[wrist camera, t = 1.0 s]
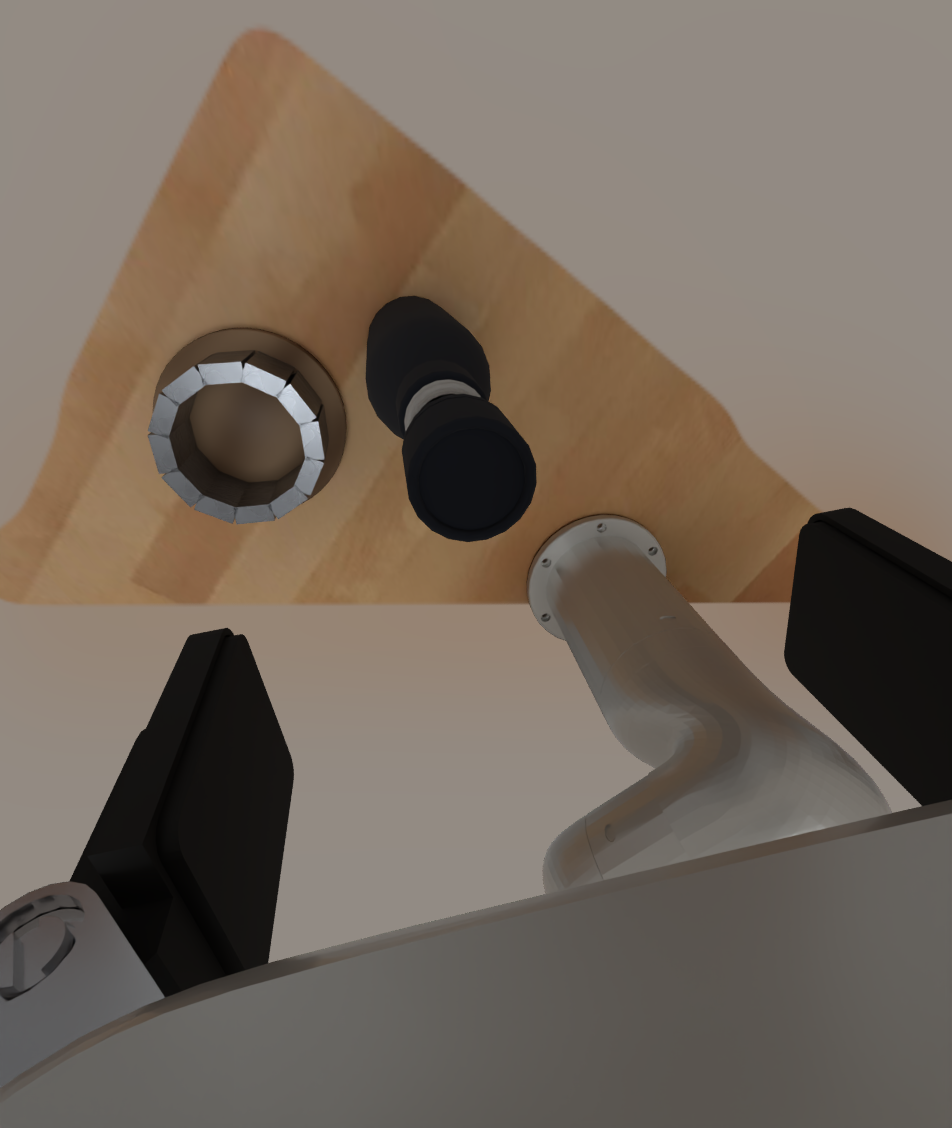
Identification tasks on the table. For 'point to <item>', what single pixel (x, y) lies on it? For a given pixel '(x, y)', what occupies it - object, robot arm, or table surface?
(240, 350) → the bottle stand
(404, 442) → the black tall rounded piece
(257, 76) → the table surface
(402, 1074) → the robot arm
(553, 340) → the table surface
